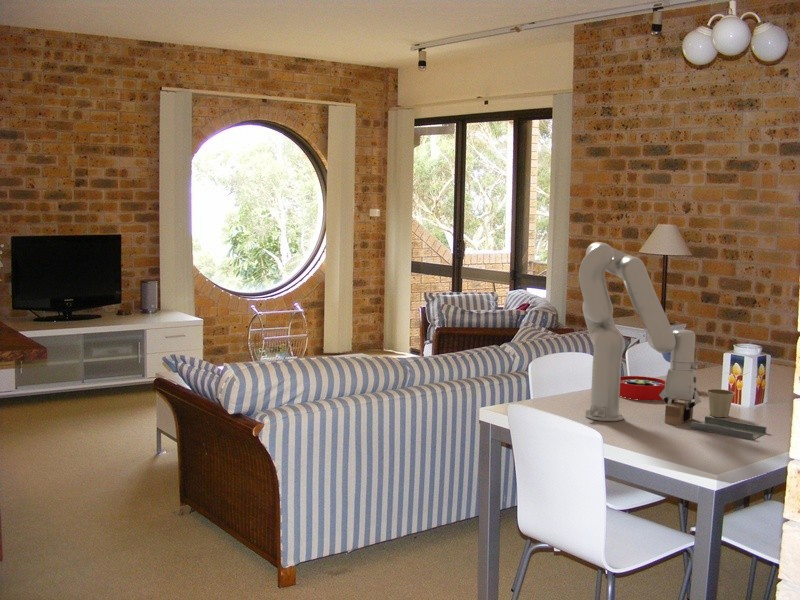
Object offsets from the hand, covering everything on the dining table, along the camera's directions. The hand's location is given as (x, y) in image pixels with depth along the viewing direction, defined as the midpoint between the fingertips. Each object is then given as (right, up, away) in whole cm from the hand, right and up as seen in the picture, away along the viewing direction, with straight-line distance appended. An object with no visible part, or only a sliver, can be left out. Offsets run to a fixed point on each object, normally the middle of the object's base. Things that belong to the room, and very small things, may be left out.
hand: (678, 418), depth 299 cm
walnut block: (0, -1, 0) cm, 1 cm away
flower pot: (+17, 0, +9) cm, 19 cm away
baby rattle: (+16, +5, +60) cm, 63 cm away
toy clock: (-2, +3, +41) cm, 41 cm away
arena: (+12, -2, -12) cm, 17 cm away
